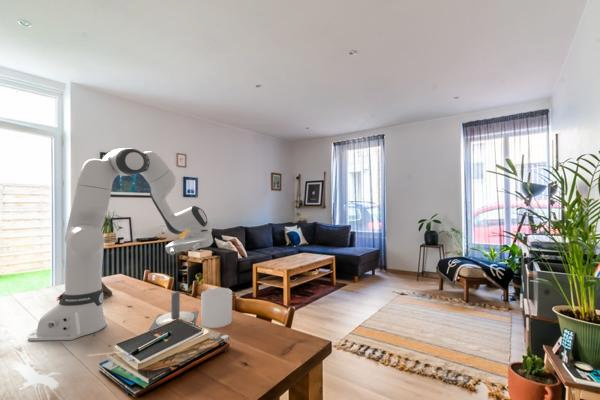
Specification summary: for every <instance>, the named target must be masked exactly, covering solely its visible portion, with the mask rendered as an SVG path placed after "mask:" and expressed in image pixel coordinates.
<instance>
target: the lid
mask: <svg viewBox="0 0 600 400" xmlns="http://www.w3.org/2000/svg"><path fill="white" fill-rule="evenodd" d="M180 292H181V291H179V290H178V291H177V290H176V291H172V292H171V298H170V299H171V300H170V301H171V306H170V307H171V308H170V309H171V310H170V312H167V313H163V314H164V315H162V316H160V317H158V318H157V319H156V318H155V319H156V325H157V326H162V325H165V324H167V323H170V322H172V321H174V320H175V319H183V320H185V321H189V322H192V321H193V320H194V314H193V313H191V312H192V311H187V310H186V311H183V310H182V311H181V309H180V305H181V304H180V303H181V300H180V297H181V296H180V294H181V293H180Z"/></svg>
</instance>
